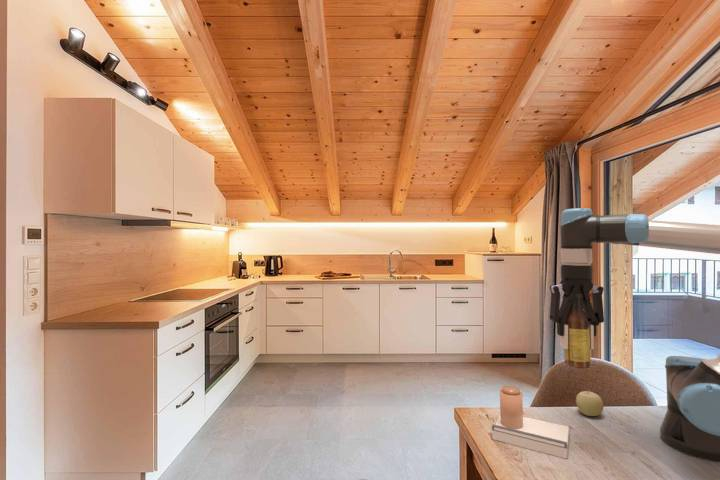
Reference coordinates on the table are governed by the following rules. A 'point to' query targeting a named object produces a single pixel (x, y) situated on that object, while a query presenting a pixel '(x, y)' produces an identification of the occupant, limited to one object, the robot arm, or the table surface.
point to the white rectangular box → (535, 436)
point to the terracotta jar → (511, 407)
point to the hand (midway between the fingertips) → (576, 347)
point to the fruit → (589, 403)
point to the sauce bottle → (577, 336)
